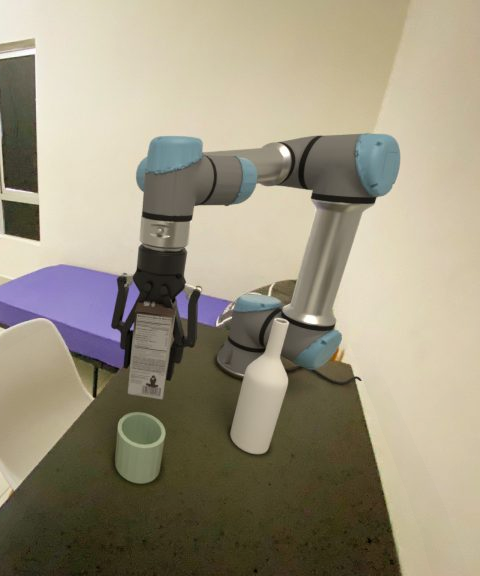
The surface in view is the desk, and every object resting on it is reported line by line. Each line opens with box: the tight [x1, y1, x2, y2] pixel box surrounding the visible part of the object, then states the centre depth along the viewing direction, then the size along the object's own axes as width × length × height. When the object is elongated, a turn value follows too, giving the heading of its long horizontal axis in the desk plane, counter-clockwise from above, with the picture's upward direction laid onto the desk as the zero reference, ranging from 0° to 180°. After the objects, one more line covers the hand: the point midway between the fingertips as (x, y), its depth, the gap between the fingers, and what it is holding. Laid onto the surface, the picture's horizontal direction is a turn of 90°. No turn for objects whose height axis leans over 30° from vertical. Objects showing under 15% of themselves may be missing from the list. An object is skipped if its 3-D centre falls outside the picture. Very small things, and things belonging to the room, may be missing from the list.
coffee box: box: [127, 292, 175, 400], centre depth 58 cm, size 9×6×16 cm
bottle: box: [229, 318, 289, 455], centre depth 69 cm, size 8×8×30 cm
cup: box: [114, 411, 166, 485], centre depth 66 cm, size 9×9×9 cm
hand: (148, 370), depth 60 cm, fingers closed on coffee box, 7 cm apart
